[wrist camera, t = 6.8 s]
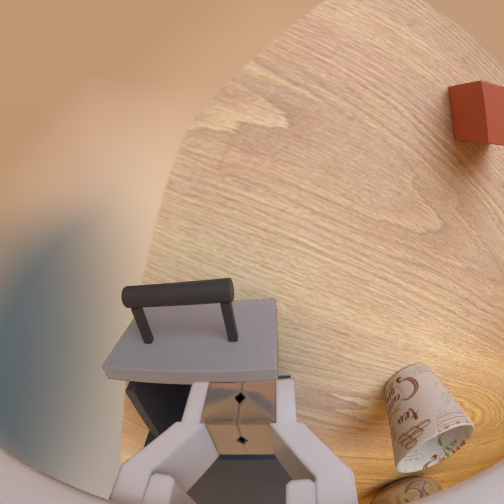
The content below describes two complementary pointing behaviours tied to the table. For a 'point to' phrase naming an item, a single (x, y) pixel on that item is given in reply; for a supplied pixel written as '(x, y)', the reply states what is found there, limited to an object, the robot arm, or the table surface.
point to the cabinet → (241, 479)
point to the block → (478, 112)
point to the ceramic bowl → (406, 490)
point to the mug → (423, 419)
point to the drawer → (190, 344)
